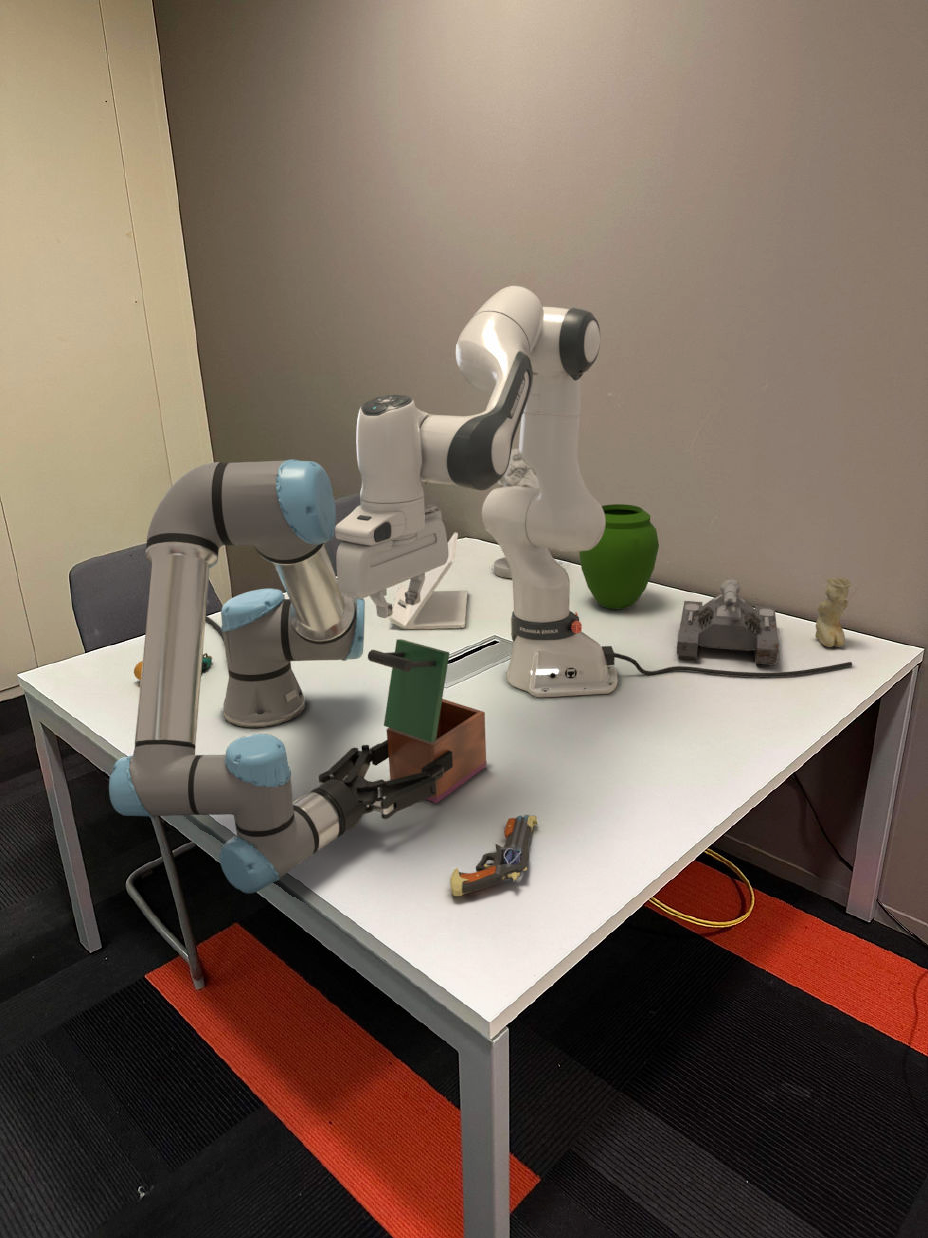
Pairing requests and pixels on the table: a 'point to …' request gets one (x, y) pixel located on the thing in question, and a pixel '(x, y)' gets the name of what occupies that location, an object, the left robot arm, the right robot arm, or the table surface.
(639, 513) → the vase
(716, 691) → the table surface
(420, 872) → the table surface
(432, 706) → the lid
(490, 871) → the toy gun
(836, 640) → the sculpture
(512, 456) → the bust sculpture
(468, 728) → the chest
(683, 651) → the toy
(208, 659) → the spray gun
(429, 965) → the table surface
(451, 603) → the tablet stand
